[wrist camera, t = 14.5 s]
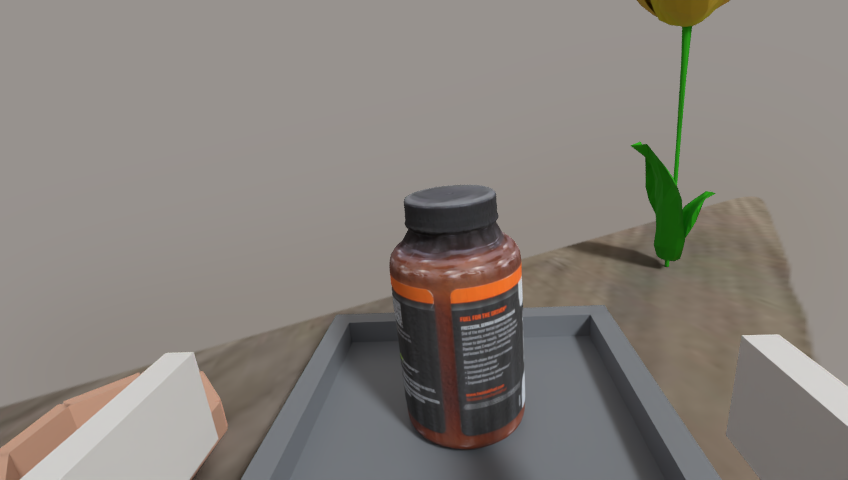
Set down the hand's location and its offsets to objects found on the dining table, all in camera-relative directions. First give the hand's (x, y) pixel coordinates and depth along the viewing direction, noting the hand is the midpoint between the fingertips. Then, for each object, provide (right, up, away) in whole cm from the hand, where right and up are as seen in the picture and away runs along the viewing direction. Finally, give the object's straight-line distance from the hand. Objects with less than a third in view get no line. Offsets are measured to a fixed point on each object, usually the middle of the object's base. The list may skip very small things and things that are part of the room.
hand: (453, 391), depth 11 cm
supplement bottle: (+1, -5, +11) cm, 13 cm away
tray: (+2, -6, +12) cm, 13 cm away
